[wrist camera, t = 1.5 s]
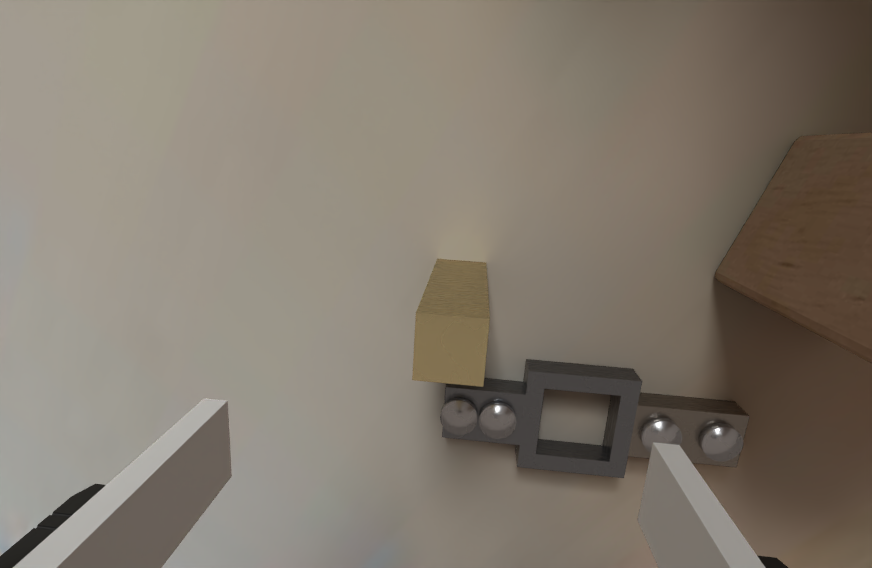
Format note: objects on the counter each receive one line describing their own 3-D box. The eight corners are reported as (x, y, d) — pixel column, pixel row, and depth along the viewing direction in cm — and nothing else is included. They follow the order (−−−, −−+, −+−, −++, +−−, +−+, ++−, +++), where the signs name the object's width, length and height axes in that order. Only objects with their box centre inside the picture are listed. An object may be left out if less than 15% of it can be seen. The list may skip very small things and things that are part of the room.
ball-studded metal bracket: (446, 352, 36) (443, 367, 33) (740, 378, 34) (760, 396, 32) (439, 442, 38) (437, 463, 35) (717, 471, 36) (734, 495, 34)
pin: (437, 258, 34) (415, 313, 23) (486, 262, 34) (489, 319, 22) (434, 305, 35) (412, 380, 24) (481, 309, 35) (483, 386, 23)
